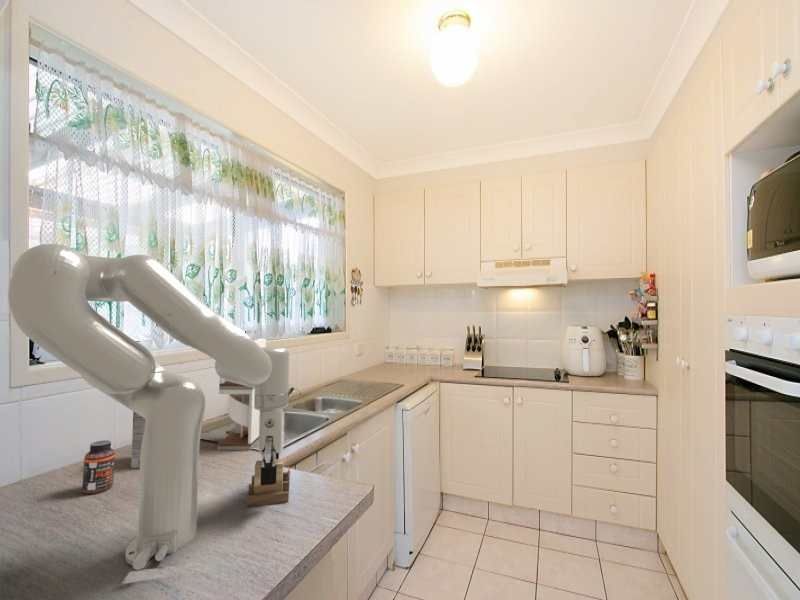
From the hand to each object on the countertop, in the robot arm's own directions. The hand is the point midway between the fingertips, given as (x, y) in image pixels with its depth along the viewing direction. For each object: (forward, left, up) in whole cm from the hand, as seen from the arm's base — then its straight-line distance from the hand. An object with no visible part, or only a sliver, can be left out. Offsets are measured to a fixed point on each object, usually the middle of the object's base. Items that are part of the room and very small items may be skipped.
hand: (270, 474), depth 85 cm
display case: (+43, +12, -7) cm, 45 cm away
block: (0, 0, -5) cm, 5 cm away
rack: (+2, 0, -7) cm, 7 cm away
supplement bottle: (+17, +41, -7) cm, 45 cm away
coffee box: (+33, +35, -7) cm, 49 cm away
